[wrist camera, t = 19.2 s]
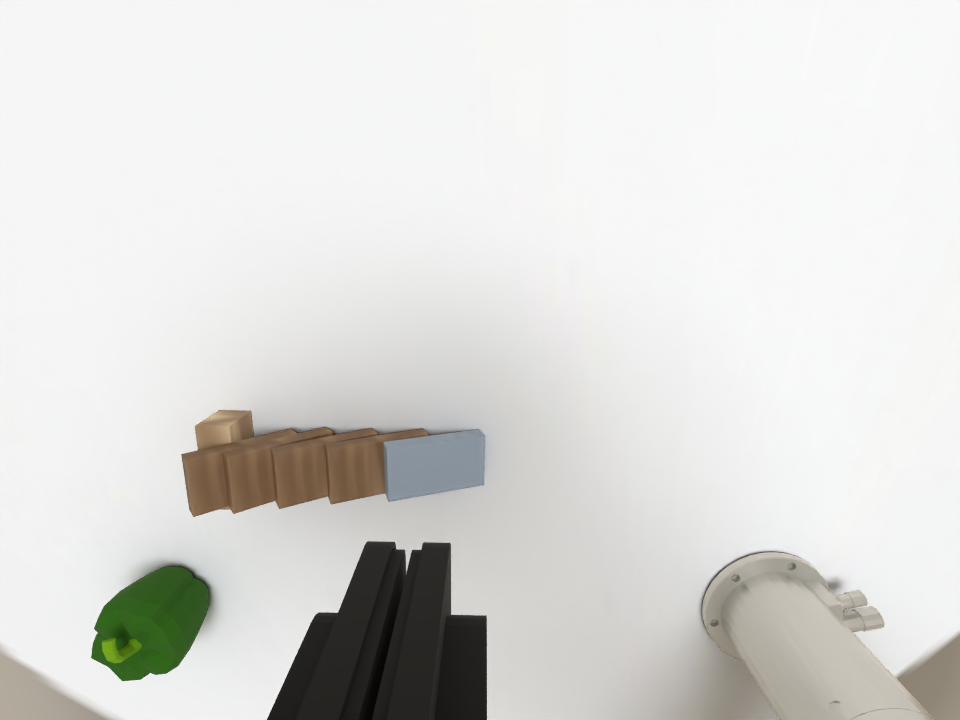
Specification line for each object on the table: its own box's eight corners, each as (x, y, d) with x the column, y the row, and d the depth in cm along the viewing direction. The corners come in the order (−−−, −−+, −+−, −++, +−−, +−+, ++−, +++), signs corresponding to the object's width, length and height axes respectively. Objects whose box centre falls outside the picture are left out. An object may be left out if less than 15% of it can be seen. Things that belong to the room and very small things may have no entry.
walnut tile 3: (332, 431, 45) (227, 458, 40) (335, 480, 46) (233, 513, 41) (325, 426, 46) (221, 452, 41) (328, 474, 48) (228, 506, 42)
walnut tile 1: (428, 434, 45) (327, 450, 41) (429, 483, 46) (331, 504, 42) (422, 428, 46) (324, 443, 43) (423, 476, 48) (328, 495, 44)
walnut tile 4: (297, 433, 45) (185, 461, 39) (301, 483, 46) (193, 516, 40) (291, 428, 46) (181, 454, 40) (295, 477, 47) (189, 508, 41)
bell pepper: (216, 630, 52) (154, 720, 42) (139, 611, 52) (59, 697, 42) (229, 565, 50) (167, 643, 41) (149, 544, 50) (68, 618, 40)
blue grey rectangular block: (484, 435, 45) (386, 449, 42) (483, 484, 46) (388, 501, 43) (478, 429, 46) (383, 441, 43) (477, 477, 48) (385, 493, 44)
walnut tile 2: (377, 433, 45) (274, 454, 40) (379, 482, 46) (279, 508, 42) (371, 427, 46) (270, 447, 42) (373, 475, 48) (275, 500, 43)
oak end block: (250, 410, 46) (229, 426, 42) (258, 487, 48) (239, 509, 44) (219, 410, 46) (194, 426, 42) (228, 487, 48) (206, 509, 44)
